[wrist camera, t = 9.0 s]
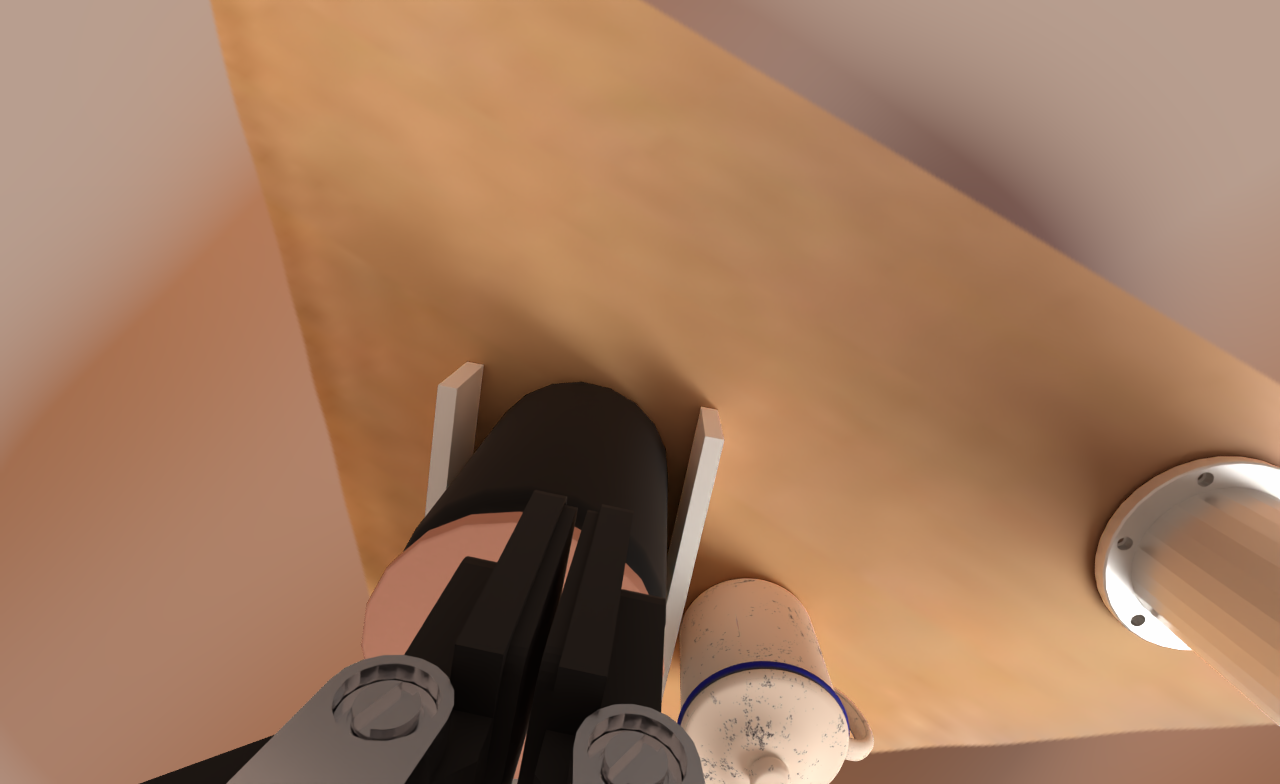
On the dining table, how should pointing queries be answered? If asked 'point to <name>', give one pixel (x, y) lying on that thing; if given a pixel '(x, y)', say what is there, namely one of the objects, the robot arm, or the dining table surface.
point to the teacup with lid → (762, 690)
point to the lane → (457, 447)
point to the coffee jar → (502, 486)
